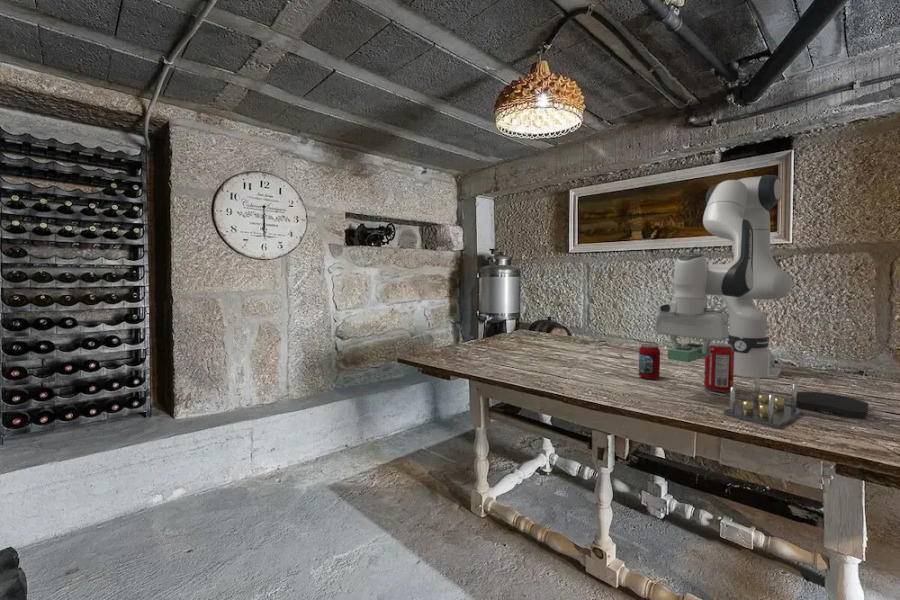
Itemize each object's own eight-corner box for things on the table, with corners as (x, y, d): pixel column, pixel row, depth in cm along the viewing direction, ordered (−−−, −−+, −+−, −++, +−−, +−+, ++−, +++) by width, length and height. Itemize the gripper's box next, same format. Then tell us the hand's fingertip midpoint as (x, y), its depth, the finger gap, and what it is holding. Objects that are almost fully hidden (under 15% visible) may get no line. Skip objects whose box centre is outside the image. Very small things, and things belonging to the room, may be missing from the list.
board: (690, 352, 130) (690, 341, 130) (710, 355, 125) (710, 343, 125) (667, 359, 122) (667, 347, 122) (688, 362, 117) (688, 350, 117)
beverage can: (634, 376, 147) (635, 344, 146) (649, 374, 149) (649, 343, 148) (648, 381, 141) (649, 347, 140) (663, 379, 143) (664, 346, 142)
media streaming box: (799, 397, 122) (800, 387, 122) (868, 409, 111) (869, 398, 111) (790, 408, 113) (791, 398, 112) (865, 422, 102) (865, 411, 101)
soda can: (718, 394, 125) (719, 347, 124) (698, 387, 133) (699, 342, 132) (739, 392, 127) (740, 345, 126) (718, 385, 134) (719, 341, 133)
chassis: (750, 402, 117) (751, 375, 117) (802, 414, 107) (804, 385, 107) (723, 414, 107) (724, 385, 107) (778, 429, 98) (779, 397, 97)
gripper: (733, 308, 116) (732, 355, 117) (662, 304, 133) (662, 345, 134) (723, 310, 112) (722, 358, 113) (652, 306, 129) (652, 348, 130)
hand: (689, 351), depth 124 cm, fingers closed on board, 6 cm apart
